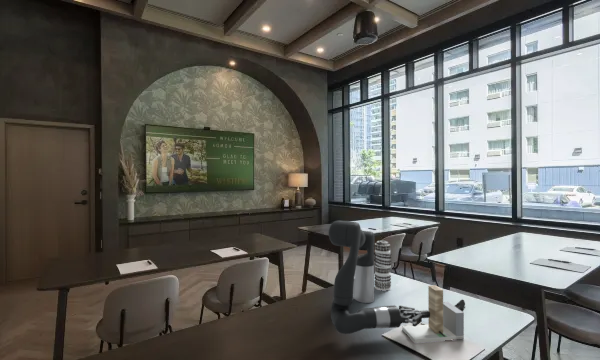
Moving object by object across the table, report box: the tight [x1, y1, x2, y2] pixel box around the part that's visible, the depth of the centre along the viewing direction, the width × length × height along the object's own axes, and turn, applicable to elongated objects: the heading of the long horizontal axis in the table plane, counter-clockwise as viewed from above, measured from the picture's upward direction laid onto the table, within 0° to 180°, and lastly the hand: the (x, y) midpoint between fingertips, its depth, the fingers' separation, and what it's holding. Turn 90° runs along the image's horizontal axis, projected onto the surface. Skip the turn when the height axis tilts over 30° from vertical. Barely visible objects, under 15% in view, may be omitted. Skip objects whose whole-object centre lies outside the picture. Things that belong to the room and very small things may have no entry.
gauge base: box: [401, 301, 465, 344], centre depth 121 cm, size 19×10×10 cm, turn 97°
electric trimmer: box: [454, 299, 466, 311], centre depth 142 cm, size 4×16×3 cm, turn 139°
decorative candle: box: [374, 240, 393, 292], centre depth 170 cm, size 9×9×25 cm
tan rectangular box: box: [427, 284, 445, 337], centre depth 119 cm, size 3×8×16 cm, turn 7°
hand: (429, 313), depth 120 cm, fingers closed
